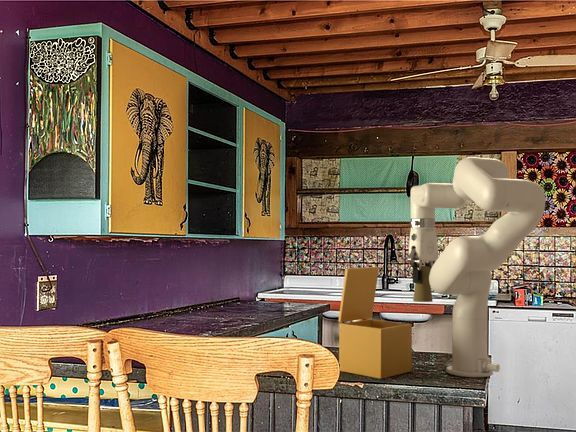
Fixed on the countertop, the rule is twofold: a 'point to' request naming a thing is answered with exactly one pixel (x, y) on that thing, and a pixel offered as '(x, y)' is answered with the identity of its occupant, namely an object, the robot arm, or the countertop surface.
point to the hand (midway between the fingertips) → (422, 282)
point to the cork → (423, 287)
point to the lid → (358, 293)
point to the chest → (375, 348)
